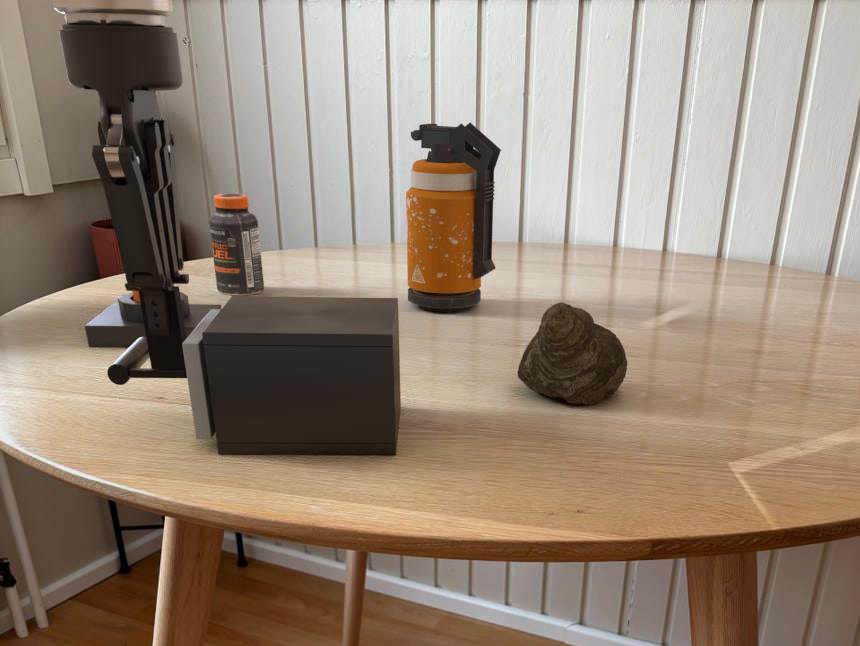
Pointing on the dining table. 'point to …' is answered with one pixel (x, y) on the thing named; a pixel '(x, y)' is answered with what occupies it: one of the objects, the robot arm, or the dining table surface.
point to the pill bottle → (236, 246)
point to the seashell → (573, 357)
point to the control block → (135, 322)
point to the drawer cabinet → (305, 375)
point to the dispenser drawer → (175, 374)
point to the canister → (450, 217)
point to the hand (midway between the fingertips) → (172, 372)
